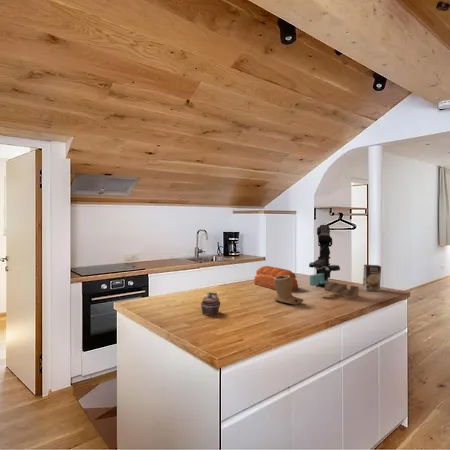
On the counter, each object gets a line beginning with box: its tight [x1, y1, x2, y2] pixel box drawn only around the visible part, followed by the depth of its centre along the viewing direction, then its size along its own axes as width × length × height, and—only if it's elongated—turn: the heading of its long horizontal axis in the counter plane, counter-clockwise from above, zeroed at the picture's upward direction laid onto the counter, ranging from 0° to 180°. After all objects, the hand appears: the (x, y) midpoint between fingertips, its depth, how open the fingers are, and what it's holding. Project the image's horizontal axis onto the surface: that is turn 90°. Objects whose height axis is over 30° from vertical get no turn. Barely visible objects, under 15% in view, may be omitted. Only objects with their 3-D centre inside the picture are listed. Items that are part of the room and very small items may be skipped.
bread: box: [253, 265, 299, 292], centre depth 233 cm, size 16×31×13 cm, turn 36°
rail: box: [324, 280, 359, 298], centre depth 214 cm, size 22×2×6 cm, turn 39°
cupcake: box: [200, 292, 221, 316], centre depth 171 cm, size 10×10×10 cm
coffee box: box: [362, 264, 382, 292], centre depth 224 cm, size 9×6×16 cm
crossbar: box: [309, 273, 329, 287], centre depth 211 cm, size 15×2×6 cm, turn 129°
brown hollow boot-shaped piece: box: [273, 275, 304, 306], centre depth 192 cm, size 15×12×15 cm
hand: (323, 280), depth 214 cm, fingers closed on crossbar, 2 cm apart
